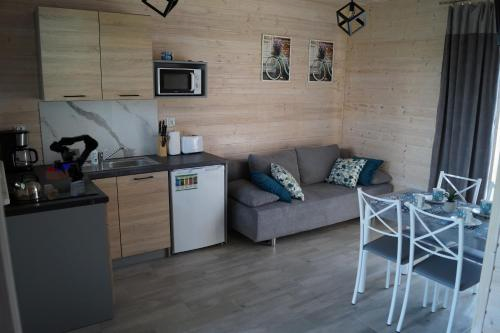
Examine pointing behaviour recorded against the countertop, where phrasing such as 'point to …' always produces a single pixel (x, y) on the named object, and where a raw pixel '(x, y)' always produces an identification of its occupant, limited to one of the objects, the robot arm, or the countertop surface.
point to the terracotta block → (47, 186)
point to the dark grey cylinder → (48, 189)
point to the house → (57, 172)
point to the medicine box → (77, 188)
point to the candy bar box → (76, 154)
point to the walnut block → (53, 194)
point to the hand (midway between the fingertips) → (72, 172)
